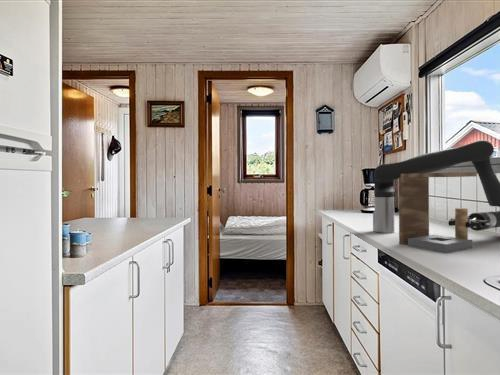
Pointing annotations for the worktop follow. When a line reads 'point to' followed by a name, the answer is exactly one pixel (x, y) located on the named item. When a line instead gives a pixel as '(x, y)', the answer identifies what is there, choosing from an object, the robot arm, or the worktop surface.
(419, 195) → the wooden l bracket
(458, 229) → the wooden peg
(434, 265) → the worktop surface
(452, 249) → the socket plate
